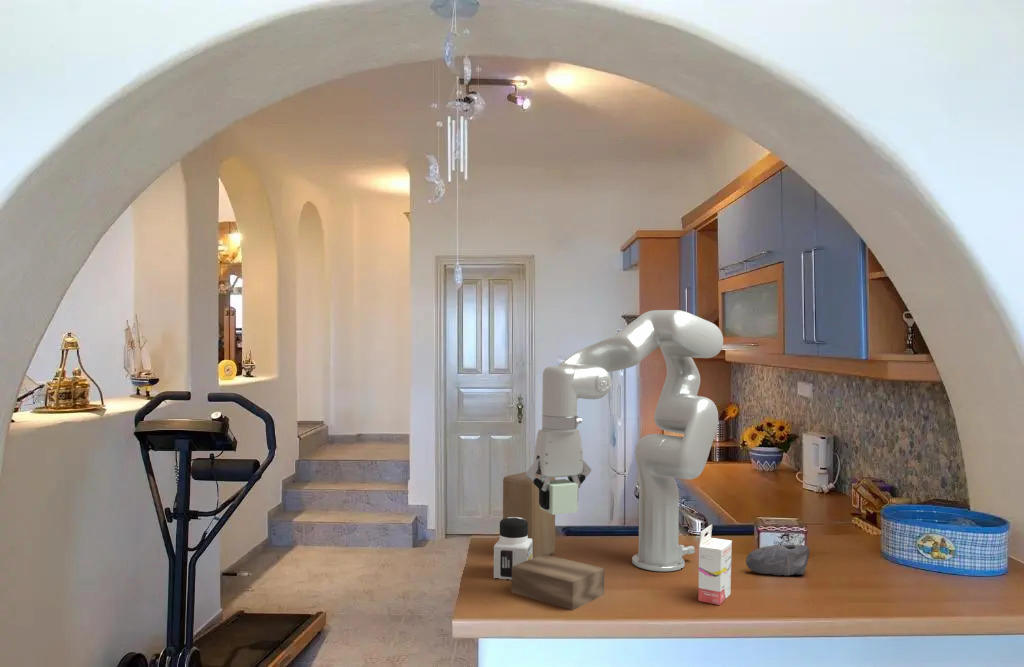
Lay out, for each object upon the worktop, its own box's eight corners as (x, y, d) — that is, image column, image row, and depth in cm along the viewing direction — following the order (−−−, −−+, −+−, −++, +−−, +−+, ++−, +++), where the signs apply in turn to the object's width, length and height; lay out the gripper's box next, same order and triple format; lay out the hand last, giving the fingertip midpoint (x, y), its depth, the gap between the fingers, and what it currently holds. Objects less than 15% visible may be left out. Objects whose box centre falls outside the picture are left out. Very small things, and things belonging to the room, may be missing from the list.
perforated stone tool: (747, 576, 176) (748, 547, 176) (743, 569, 182) (743, 540, 182) (814, 579, 175) (814, 549, 175) (807, 572, 180) (808, 542, 180)
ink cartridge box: (721, 606, 157) (721, 535, 157) (697, 601, 160) (698, 531, 160) (732, 593, 165) (732, 526, 165) (709, 589, 167) (710, 523, 167)
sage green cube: (564, 506, 168) (564, 479, 168) (577, 512, 162) (577, 484, 162) (540, 508, 165) (540, 480, 165) (552, 514, 160) (552, 486, 160)
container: (526, 581, 172) (527, 524, 171) (493, 579, 173) (493, 522, 173) (532, 571, 179) (533, 516, 179) (500, 568, 181) (501, 514, 181)
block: (500, 555, 191) (501, 476, 191) (526, 546, 199) (526, 470, 199) (531, 563, 185) (532, 481, 185) (556, 554, 193) (557, 475, 192)
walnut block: (544, 580, 174) (544, 554, 174) (604, 596, 164) (604, 568, 164) (511, 594, 164) (511, 566, 164) (572, 611, 154) (572, 582, 154)
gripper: (586, 420, 171) (585, 500, 171) (515, 423, 164) (515, 506, 164) (603, 424, 164) (602, 507, 164) (530, 427, 157) (529, 514, 157)
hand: (558, 506), depth 164 cm, fingers closed on sage green cube, 6 cm apart
